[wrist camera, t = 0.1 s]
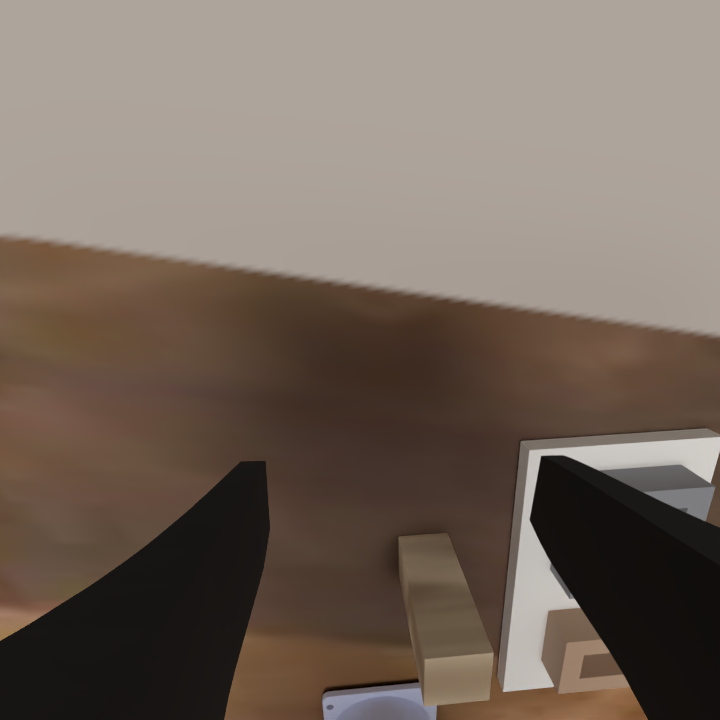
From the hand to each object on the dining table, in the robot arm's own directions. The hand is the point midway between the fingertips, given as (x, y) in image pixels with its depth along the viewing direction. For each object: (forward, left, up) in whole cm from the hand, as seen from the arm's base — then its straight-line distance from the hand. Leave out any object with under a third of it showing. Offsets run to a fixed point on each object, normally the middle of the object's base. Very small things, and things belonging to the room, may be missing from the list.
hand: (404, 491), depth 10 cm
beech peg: (-12, -3, -10) cm, 16 cm away
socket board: (-14, -14, -10) cm, 22 cm away
